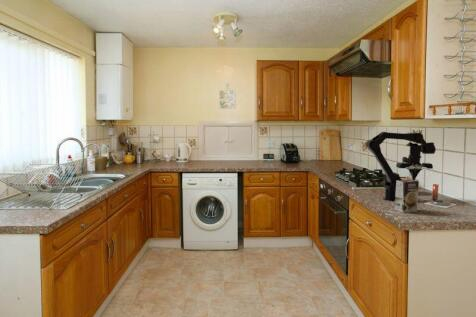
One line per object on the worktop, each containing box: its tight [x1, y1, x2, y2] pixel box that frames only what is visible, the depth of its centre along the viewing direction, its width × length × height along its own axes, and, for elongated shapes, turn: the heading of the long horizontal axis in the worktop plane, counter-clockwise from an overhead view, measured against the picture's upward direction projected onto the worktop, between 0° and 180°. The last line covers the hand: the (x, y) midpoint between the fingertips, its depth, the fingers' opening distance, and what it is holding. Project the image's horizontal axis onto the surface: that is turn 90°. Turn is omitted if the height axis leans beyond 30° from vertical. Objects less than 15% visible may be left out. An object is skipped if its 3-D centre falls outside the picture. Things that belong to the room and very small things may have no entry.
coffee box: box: [394, 180, 420, 214], centre depth 179 cm, size 9×6×16 cm
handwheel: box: [429, 183, 451, 205], centre depth 194 cm, size 11×10×10 cm
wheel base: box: [423, 201, 457, 209], centre depth 194 cm, size 12×12×1 cm
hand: (413, 180), depth 204 cm, fingers closed
